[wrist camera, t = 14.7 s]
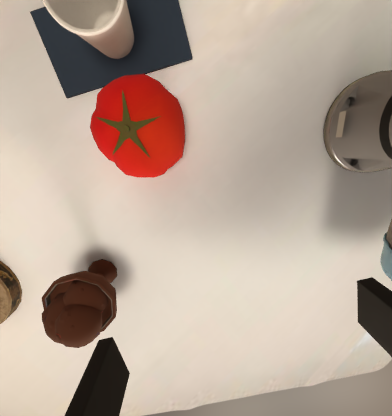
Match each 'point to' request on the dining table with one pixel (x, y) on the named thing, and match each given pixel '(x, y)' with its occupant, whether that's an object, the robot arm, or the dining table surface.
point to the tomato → (138, 125)
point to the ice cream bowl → (80, 305)
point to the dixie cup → (96, 23)
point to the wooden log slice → (8, 292)
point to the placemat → (109, 67)
